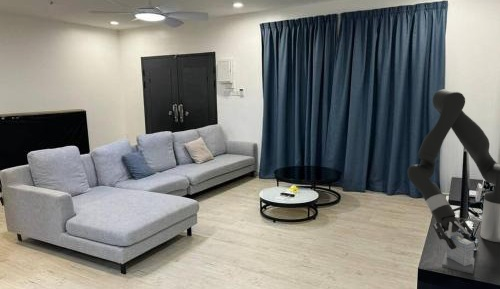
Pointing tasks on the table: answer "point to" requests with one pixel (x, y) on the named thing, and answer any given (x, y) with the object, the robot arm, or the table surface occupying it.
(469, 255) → the medicine box
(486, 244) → the table surface
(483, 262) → the table surface
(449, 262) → the rubber mat
